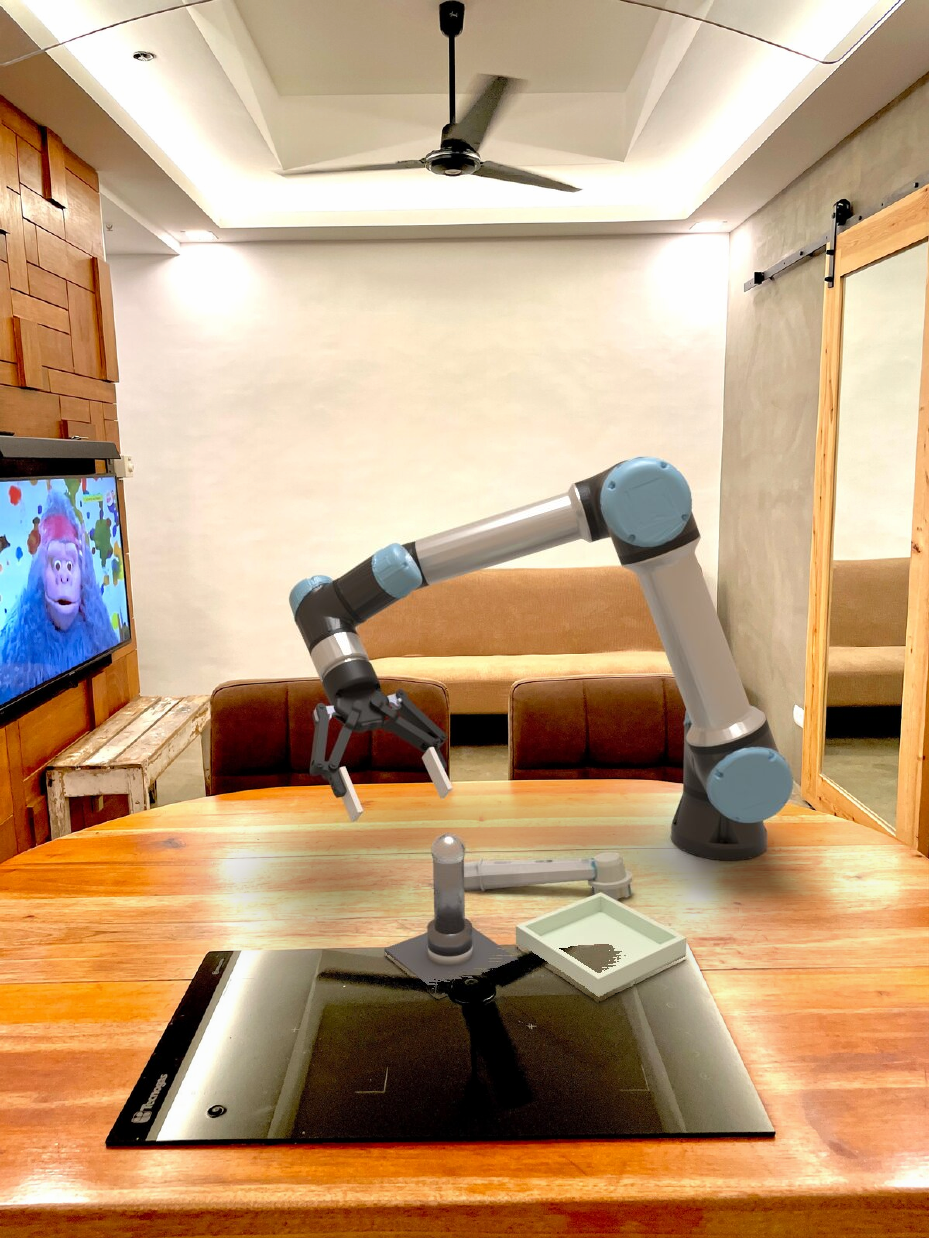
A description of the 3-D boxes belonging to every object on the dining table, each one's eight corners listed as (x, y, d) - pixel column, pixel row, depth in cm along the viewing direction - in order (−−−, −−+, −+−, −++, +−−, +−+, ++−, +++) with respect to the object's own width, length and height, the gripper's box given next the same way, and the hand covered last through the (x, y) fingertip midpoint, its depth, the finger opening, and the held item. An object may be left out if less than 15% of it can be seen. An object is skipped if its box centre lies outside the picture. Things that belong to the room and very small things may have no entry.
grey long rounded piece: (459, 855, 131) (627, 840, 127) (466, 897, 132) (633, 883, 128) (454, 870, 126) (629, 856, 122) (461, 914, 127) (635, 900, 123)
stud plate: (461, 926, 118) (461, 911, 117) (517, 965, 108) (517, 949, 108) (384, 955, 111) (384, 939, 110) (437, 1000, 101) (436, 982, 101)
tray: (600, 912, 121) (600, 892, 120) (685, 959, 109) (686, 937, 108) (516, 947, 112) (515, 925, 112) (598, 1002, 100) (598, 978, 100)
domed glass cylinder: (455, 928, 113) (453, 821, 110) (481, 946, 108) (480, 836, 106) (419, 941, 110) (416, 832, 107) (444, 961, 105) (441, 847, 103)
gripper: (411, 674, 133) (469, 797, 124) (255, 700, 119) (307, 840, 110) (429, 646, 128) (491, 771, 119) (269, 669, 114) (325, 813, 104)
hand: (403, 804), depth 114 cm, fingers open, 13 cm apart
